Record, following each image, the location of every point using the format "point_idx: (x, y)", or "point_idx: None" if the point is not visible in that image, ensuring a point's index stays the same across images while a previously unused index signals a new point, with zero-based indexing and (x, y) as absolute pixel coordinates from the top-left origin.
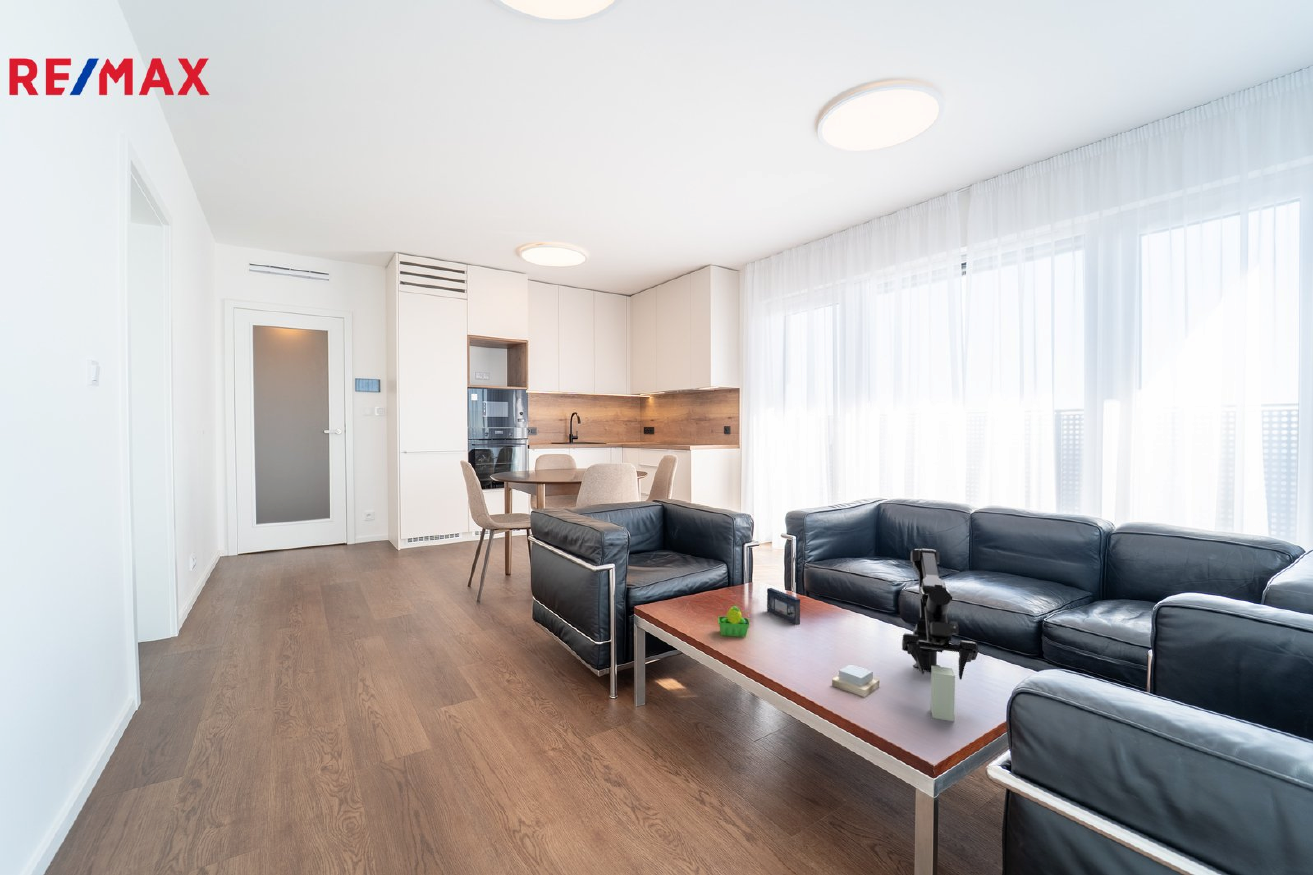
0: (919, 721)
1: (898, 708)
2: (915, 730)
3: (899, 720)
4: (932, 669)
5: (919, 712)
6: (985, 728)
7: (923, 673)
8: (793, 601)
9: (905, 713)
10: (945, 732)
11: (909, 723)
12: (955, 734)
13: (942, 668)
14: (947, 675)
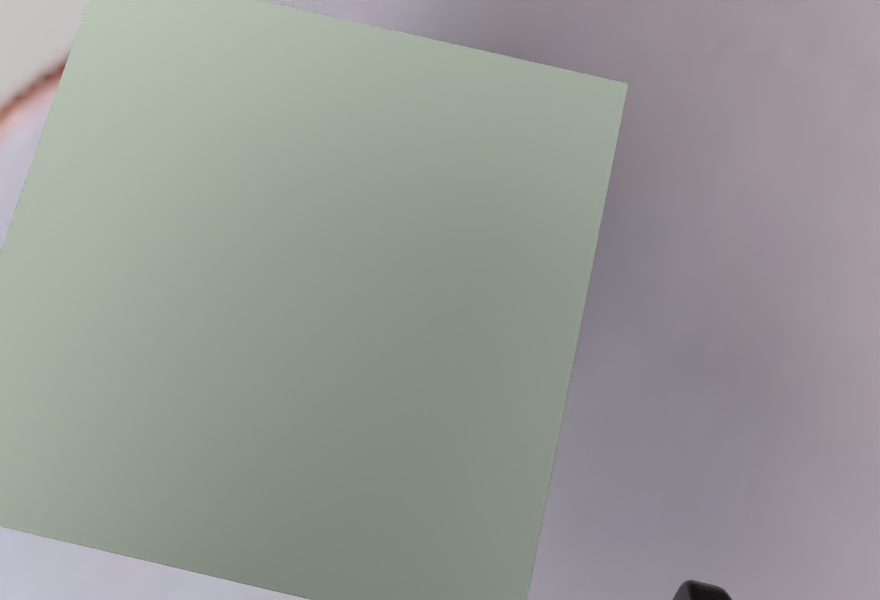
0: (669, 218)
1: (827, 493)
2: (761, 34)
3: (874, 209)
4: (566, 377)
5: (607, 429)
6: (12, 167)
7: (679, 595)
8: None
9: (775, 378)
10: (476, 34)
11: (785, 161)
12: (391, 10)
13: (237, 449)
14: (291, 14)
